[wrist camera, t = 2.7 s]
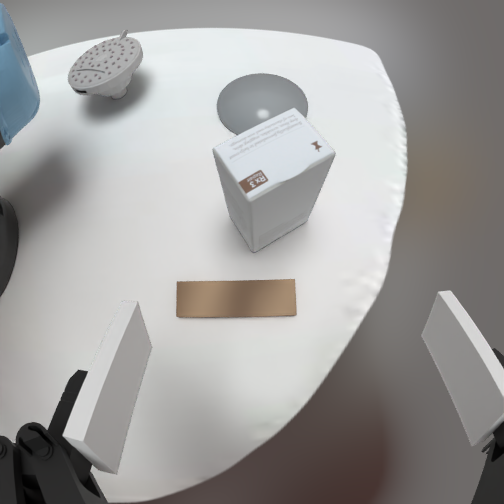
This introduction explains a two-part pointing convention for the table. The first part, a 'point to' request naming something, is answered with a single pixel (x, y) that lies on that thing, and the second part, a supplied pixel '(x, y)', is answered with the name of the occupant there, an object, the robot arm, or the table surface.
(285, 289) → the walnut board
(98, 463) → the robot arm
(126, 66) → the showerhead
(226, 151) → the skincare box
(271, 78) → the coaster
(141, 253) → the table surface
